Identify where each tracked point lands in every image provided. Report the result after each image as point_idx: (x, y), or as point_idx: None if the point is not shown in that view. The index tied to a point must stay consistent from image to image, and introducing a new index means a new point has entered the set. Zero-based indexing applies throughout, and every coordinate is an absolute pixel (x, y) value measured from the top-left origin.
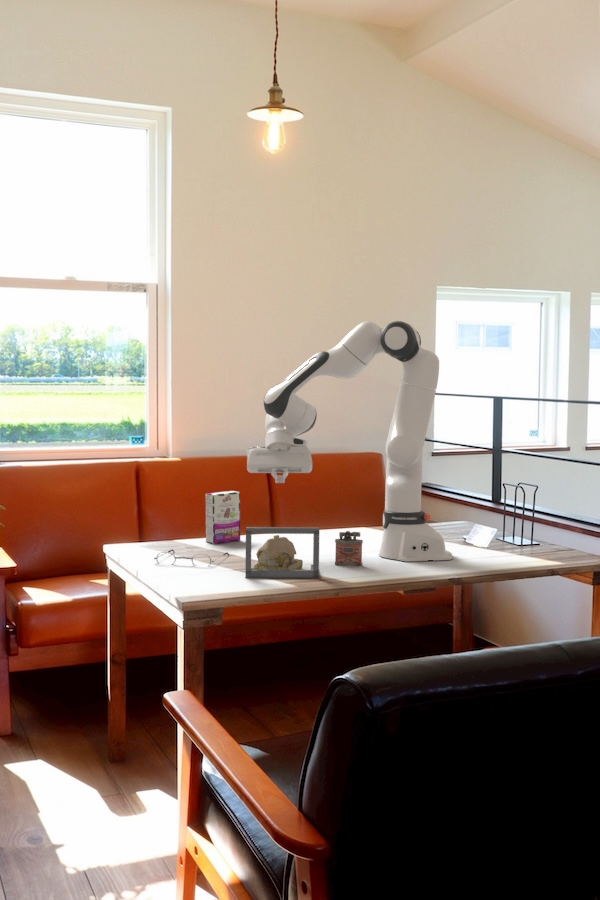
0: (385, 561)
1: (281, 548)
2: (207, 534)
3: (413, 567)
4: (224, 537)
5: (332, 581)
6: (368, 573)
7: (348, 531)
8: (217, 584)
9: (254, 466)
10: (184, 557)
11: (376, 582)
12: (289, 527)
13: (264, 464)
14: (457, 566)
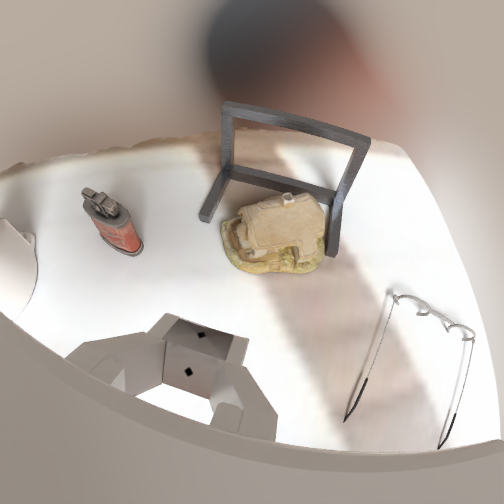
0: (51, 251)
1: (276, 197)
2: None
3: (54, 202)
4: None
5: (213, 153)
6: (133, 180)
7: (99, 195)
8: (378, 184)
9: (471, 445)
10: (441, 315)
11: (160, 140)
12: (282, 116)
13: (394, 466)
14: (15, 197)
